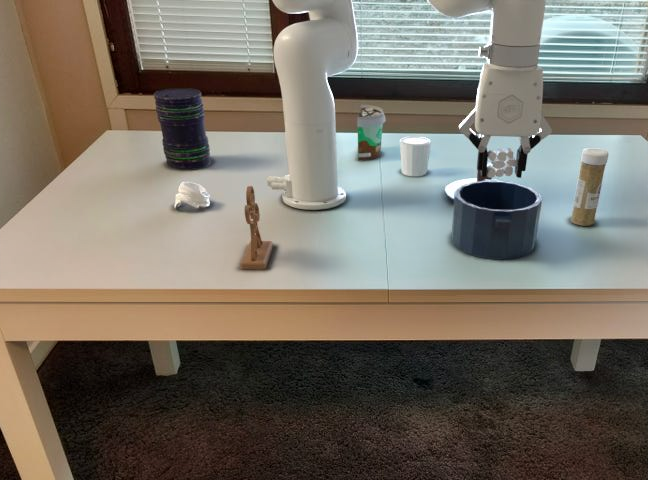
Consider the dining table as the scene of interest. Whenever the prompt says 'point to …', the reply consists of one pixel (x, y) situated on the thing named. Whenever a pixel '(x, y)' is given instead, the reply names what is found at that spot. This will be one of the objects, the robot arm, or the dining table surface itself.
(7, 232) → the dining table surface
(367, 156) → the food container
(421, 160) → the white cup
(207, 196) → the whipped cream
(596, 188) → the sprinkles bottle
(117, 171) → the dining table surface
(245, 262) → the brown upright openwork piece
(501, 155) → the white marshmallow cluster
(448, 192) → the pot lid
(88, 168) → the dining table surface
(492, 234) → the pot
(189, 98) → the storage jar
